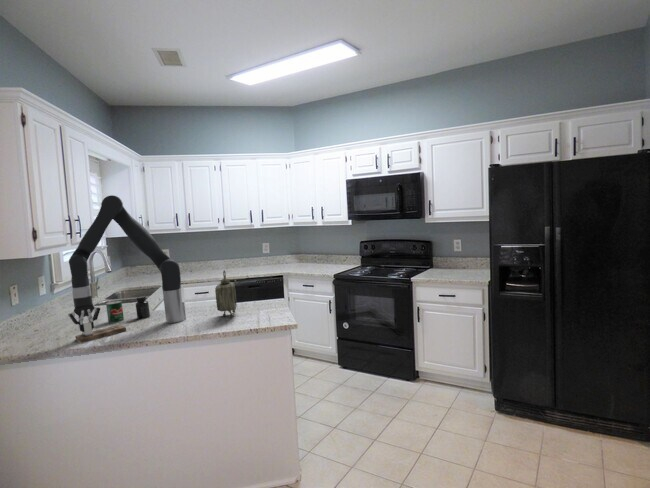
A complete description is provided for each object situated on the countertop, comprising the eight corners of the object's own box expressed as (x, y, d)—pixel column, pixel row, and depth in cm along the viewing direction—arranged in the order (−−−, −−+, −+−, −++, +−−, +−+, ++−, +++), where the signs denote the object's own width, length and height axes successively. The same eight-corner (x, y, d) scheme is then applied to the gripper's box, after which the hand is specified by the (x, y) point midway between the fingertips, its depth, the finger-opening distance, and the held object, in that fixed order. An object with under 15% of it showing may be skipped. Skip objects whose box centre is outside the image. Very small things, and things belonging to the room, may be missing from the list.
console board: (119, 328, 202) (119, 324, 201) (126, 330, 196) (125, 326, 195) (75, 339, 187) (75, 335, 187) (81, 343, 181) (81, 338, 181)
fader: (88, 332, 190) (87, 321, 190) (93, 334, 185) (92, 322, 185) (81, 334, 188) (80, 322, 187) (86, 336, 183) (85, 324, 183)
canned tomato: (117, 323, 213) (114, 303, 212) (105, 323, 215) (102, 304, 214) (127, 319, 221) (124, 300, 220) (115, 319, 222) (112, 300, 221)
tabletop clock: (235, 318, 203) (230, 271, 201) (218, 320, 202) (213, 273, 200) (237, 311, 217) (233, 267, 215) (221, 313, 216) (216, 269, 214)
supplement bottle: (152, 315, 225) (149, 295, 224) (147, 318, 218) (144, 297, 217) (140, 316, 225) (137, 296, 223) (135, 319, 218) (132, 298, 217)
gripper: (95, 292, 193) (100, 325, 194) (63, 298, 182) (68, 333, 184) (101, 293, 188) (105, 327, 189) (67, 299, 177) (72, 336, 179)
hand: (87, 330), depth 186 cm, fingers closed on fader, 3 cm apart
